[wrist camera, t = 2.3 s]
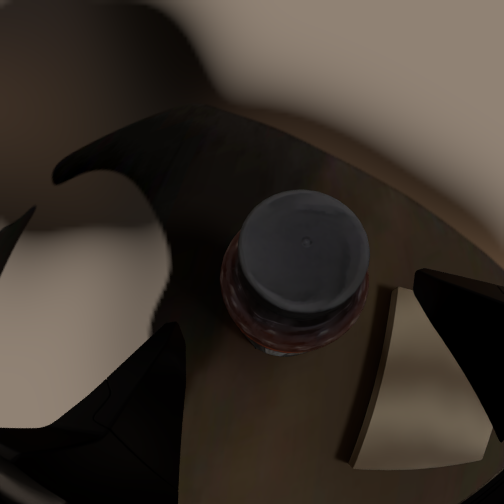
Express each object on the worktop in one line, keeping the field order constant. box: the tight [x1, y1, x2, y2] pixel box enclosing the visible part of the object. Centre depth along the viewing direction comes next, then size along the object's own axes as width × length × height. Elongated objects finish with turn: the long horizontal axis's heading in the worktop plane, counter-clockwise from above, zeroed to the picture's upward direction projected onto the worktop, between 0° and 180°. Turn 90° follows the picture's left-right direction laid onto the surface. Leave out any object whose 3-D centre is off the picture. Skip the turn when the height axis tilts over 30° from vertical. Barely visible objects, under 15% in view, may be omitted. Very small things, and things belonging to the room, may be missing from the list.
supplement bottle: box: [220, 189, 370, 356], centre depth 13 cm, size 6×6×11 cm
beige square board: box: [348, 287, 493, 470], centre depth 14 cm, size 13×13×1 cm
